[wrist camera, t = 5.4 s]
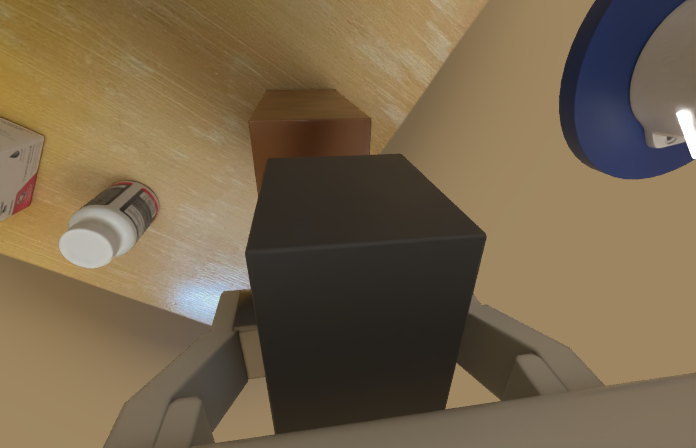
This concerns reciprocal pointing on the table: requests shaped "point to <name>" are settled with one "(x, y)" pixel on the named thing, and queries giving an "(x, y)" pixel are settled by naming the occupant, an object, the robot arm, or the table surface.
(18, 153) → the ink box
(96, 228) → the pill bottle
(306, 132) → the stand
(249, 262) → the dark grey rectangular box
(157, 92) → the table surface
